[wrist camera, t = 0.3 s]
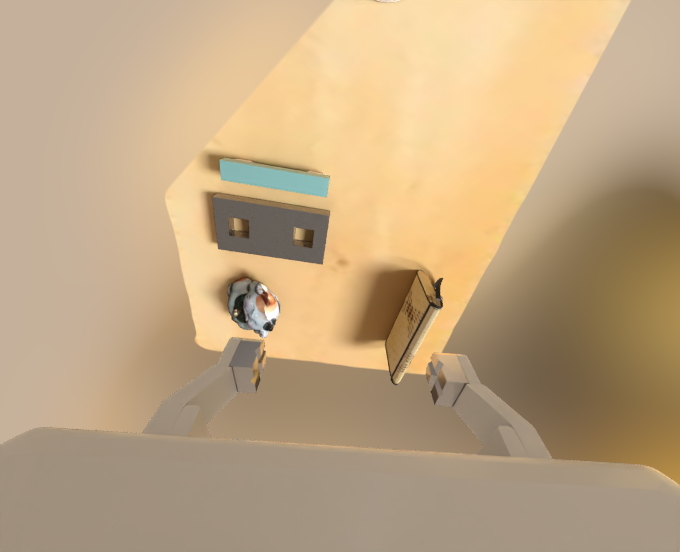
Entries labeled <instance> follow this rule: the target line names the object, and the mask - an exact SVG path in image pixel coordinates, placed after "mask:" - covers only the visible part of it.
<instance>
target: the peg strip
mask: <svg viewBox="0 0 680 552" xmlns="http://www.w3.org/2000/svg"><path fill="white" fill-rule="evenodd" d="M219 162H220V173H221V180H225V181H231V182H237V183H243V184H249V185H255V186H261V187H267V188H273V189H279V190H285V191H291V192H297V193H303V194H309V195H315V196H321V197H327V194H328V187H329V179H330V176H328V175H323V173H319V172H314V171H308V172H305V171H299V170H293V169H287V168H282V167H276V166H270V165H264V164H258V163H253V161H250V160H244V159H229V158H223V159H220V160H219Z"/></svg>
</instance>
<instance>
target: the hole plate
mask: <svg viewBox="0 0 680 552" xmlns="http://www.w3.org/2000/svg"><path fill="white" fill-rule="evenodd" d="M212 200H213V209H214V218H215V226H216V235H217V243H218V249H221V250H228V251H235V252H242V253H248V254H255V255H262V256H269V257H275V258H282V259H289V260H296V261H303V262H309V263H316V264H323V258H324V251H325V244H326V237H327V230H328V223H329V216H330V211H328V210H322V209H316V208H309V207H303V206H297V205H291V204H285V203H279V202H272V201H266V200H260V199H254V198H248V197H242V196H236V195H229V194H223V193H217V194H216V195H214V196H212ZM233 218H238V219H245V220H249V233H248V232H242V231H235V230H234V219H233ZM296 228H302V229H309V230H314V237H313V242H307V241H301V240H295V233H296Z"/></svg>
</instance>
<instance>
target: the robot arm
mask: <svg viewBox="0 0 680 552" xmlns="http://www.w3.org/2000/svg"><path fill="white" fill-rule="evenodd" d="M376 1H379V2H386V3H389V2H396V1H400V0H376ZM264 347H265V342H264V340H257V339H247V338H236V337H232V338H231V339H230V340H229V341H228V343H227V345H226V347H225V349H224V351H223V353H222V355H221V357H220V359H219V361H218V363H217V365H216V366H211V367H210V368H209V369H207V370H206V371H204V372H203V373H202V374H200V375H199V376H198V377H196V378H195V379H193V380H192V381H190V382H189V383H188V384H186V385H185V386H183V387H182V388H181V389H179V390H178V391H176V392H175V393H174V394H172V395H171V396H170V397H168V398H167V399H165V400H164V401H163V402H162V403H161V404H160V406H159V407H158V409H157V411H156V412H155V414H154V415H153V417H152V418H151V420H150V422H149V423H148V425H147V427H146V428H145V429H144V431H143V433H128V432H112V431H97V430H81V429H66V428H52V427H40V428H35V429H32V430H29V431H27V432H25V433H23V434H20V435H18V436H16V437H14V438H12V439H10V440H9V441H7V442H5V443H3V444H1V445H0V552H680V485H679V484H677V483H676V482H675V481H673V480H672V479H670V478H669V477H667V476H666V475H664V474H663V473H661V472H659V471H658V470H656V469H654V468H651V467H648V466H644V465H635V464H619V463H603V462H602V463H601V462H586V461H570V460H555V459H552V457H551V455H550V454H549V452H548V450H547V449H546V447H545V445H544V443H543V442H542V440H541V438H540V437H539V435H538V433H537V432H536V430H535V428H534V427H533V426H532V425H531V424H530V423H528V422H527V421H526V420H525V419H524V418H522V417H521V416H520V415H519V414H518V413H516V412H515V411H514V410H513V409H512V408H511V407H510V406H508V405H507V404H506V403H505V402H504V401H502V400H501V399H500V398H499V397H498V396H497V395H495V394H494V393H493V392H492V391H491V390H490V389H488V388H487V387H486V386H485V385H481V384H480V382H479V379H478V377H477V375H476V374H475V371H474V369H473V367H472V365H471V363H470V361H469V359H468V357H467V356H466V355H461V354H450V353H433V354H432V356H431V360H432V361H431V362H430V363H428V365H427V368H426V376H427V381H428V384H429V385H430V386H431V387H432V390H431V395H432V398H433V402H434V405H439V406H448V407H453V409H454V410H455V412H456V413H457V414H458V415H459V416H460V418H461V419H462V420H463V421H464V422H465V424H466V425H467V426H468V427H469V428H470V430H471V431H472V432H473V433H474V434H475V436H476V437H477V438H478V439H479V440H480V442H481V443H482V444H483V446H482V447H481V449H480V450H479V451H478V452H477V454H476V455H474V454H460V453H443V452H427V451H412V450H396V449H381V448H365V447H349V446H333V445H316V444H300V443H285V442H270V441H269V442H268V441H254V440H238V439H222V438H212V437H211V435H210V432H209V430H208V427H207V424H208V423H209V422H210V421H211V419H213V418H214V417H215V416H216V415H217V414H218V413H219V412H220V411H221V410H222V409H223V407H225V406H226V404H228V402H230V400H231V399H232V398H233V397H234V396H235V395H236V394H237V392H245V393H246V392H247V393H256V392H257V389H258V386H259V383H260V374H261V373H262V372H263V370H264V367H265V362H266V351H265V350H264Z"/></svg>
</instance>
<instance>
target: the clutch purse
mask: <svg viewBox="0 0 680 552" xmlns="http://www.w3.org/2000/svg"><path fill="white" fill-rule="evenodd" d="M442 280H443V278H440V279H439V280H437V281H436V283H435V284H434V285H433V286H432V284H431V282H430V280H429V278H428V276H427V275H426V274H425V273H424V272H423V271H421V270H419V271H417V275H416V277H415V279H414V281H413V284H412V286H411V288H410V290H409V292H408V295H407V297H406V299H405V301H404V303H403V306H402V308H401V310H400V312H399V314H398V317H397V319H396V321H395V323H394V325H393V328H392V330H391V332H390V334H389V336H388V339H387V340H386V342H385V347H386V353H387V359H388V366H389V372H390V376H391V381H392V383H393V384H395V385H398V384H399V382H400V380H401V379H402V377H403V375H404V373H405V372H406V370H407V368H408V366H409V364H410V363H411V361H412V359H413V357H414V356H415V354H416V352H417V350H418V349H419V347H420V345H421V343H422V342H423V340H424V338H425V336H426V335H427V333H428V331H429V329H430V328H431V326H432V324H433V322H434V320H435V319H436V317H437V315H438V313H439V312H440V310H441V308H442V307H443V303H442V299H443V297H441V295H440V285H441V282H442ZM435 287H436V289H435ZM441 298H442V299H441Z"/></svg>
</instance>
